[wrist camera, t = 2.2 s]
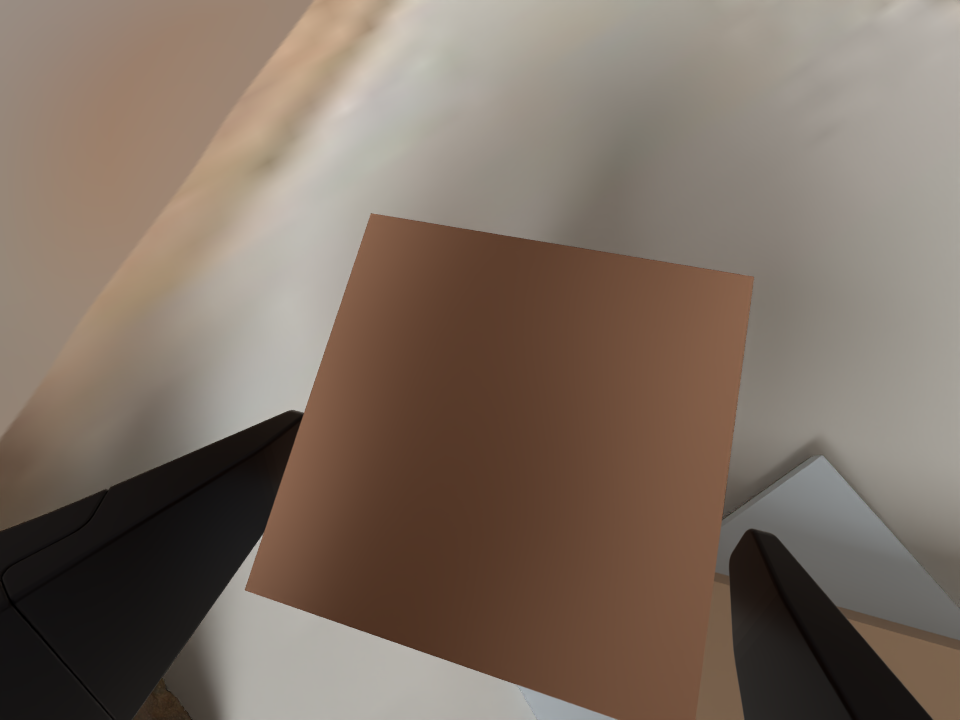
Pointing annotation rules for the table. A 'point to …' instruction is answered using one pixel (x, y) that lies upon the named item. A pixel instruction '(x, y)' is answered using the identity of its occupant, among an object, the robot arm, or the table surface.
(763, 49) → the table surface
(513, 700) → the table surface
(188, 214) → the table surface
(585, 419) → the column
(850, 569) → the base
